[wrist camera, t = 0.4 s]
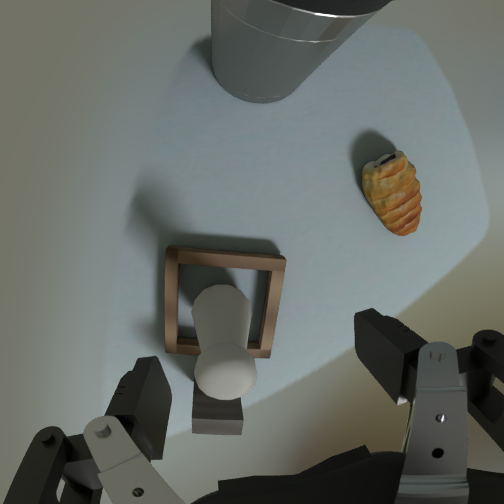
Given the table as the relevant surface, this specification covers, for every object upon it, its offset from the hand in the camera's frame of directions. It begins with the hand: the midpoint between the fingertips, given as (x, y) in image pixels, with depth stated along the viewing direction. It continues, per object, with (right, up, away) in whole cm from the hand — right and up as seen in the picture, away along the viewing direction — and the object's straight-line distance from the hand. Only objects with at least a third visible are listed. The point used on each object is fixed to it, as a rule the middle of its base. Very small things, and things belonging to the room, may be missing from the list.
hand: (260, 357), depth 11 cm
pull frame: (-4, -4, +20) cm, 20 cm away
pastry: (+15, +11, +19) cm, 26 cm away
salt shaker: (-4, -1, +19) cm, 20 cm away
